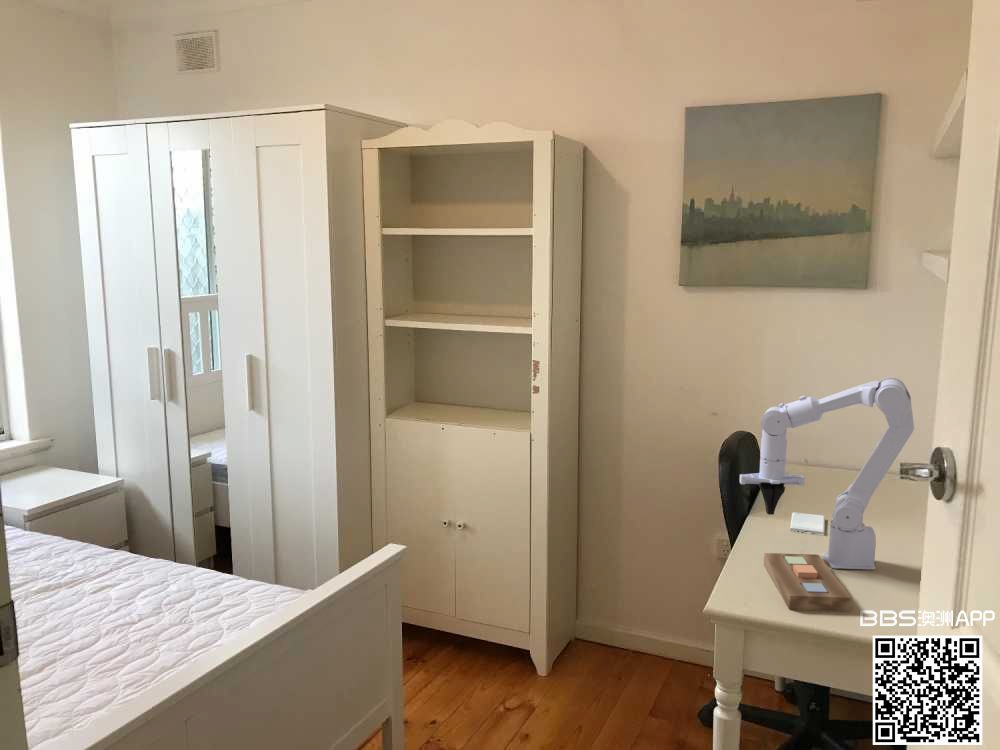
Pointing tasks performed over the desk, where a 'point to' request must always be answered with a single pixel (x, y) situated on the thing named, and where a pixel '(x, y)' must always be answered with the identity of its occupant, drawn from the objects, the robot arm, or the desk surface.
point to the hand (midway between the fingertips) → (769, 513)
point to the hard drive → (807, 523)
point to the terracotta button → (805, 571)
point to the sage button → (795, 560)
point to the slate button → (814, 588)
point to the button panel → (793, 587)
